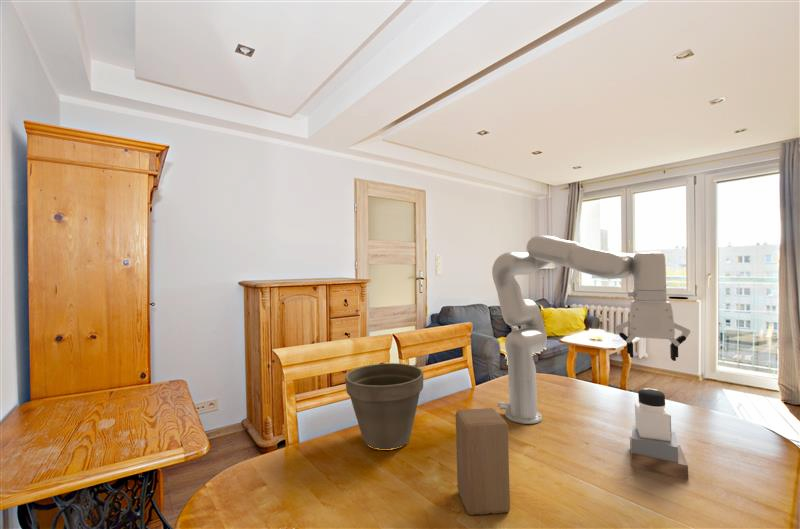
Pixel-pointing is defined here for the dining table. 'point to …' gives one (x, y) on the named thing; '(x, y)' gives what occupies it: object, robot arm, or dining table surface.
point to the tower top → (655, 447)
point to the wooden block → (482, 461)
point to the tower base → (661, 464)
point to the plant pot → (385, 402)
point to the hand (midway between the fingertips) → (651, 358)
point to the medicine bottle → (652, 415)
